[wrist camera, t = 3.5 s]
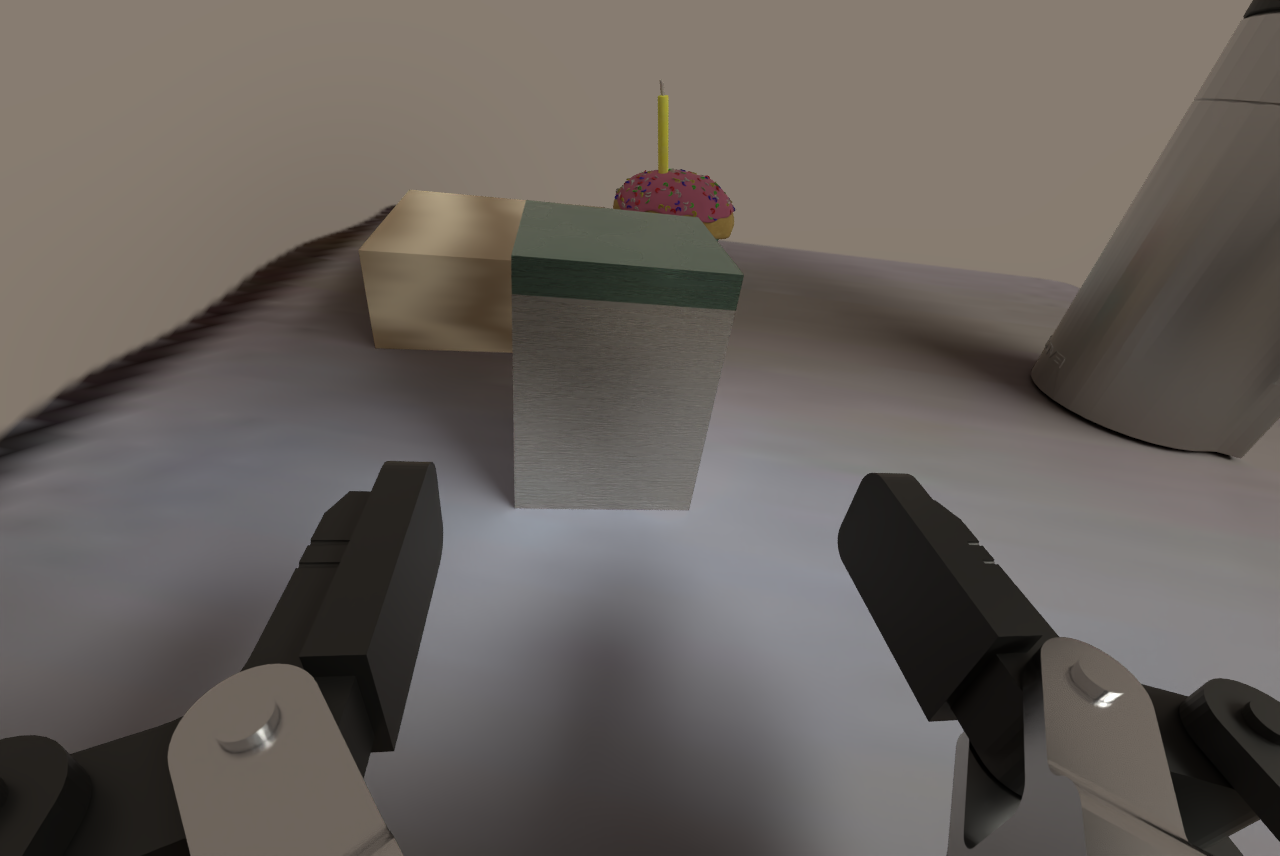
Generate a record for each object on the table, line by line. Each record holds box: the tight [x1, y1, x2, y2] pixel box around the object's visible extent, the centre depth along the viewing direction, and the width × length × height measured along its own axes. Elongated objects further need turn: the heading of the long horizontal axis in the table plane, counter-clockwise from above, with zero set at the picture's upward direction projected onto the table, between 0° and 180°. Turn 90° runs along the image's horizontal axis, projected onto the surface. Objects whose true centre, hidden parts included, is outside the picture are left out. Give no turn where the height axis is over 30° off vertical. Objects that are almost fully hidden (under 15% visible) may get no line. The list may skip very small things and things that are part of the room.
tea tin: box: [511, 200, 744, 510], centre depth 19 cm, size 6×6×8 cm
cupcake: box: [613, 80, 735, 241], centre depth 37 cm, size 9×8×12 cm
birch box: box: [359, 190, 605, 353], centre depth 31 cm, size 12×12×5 cm
